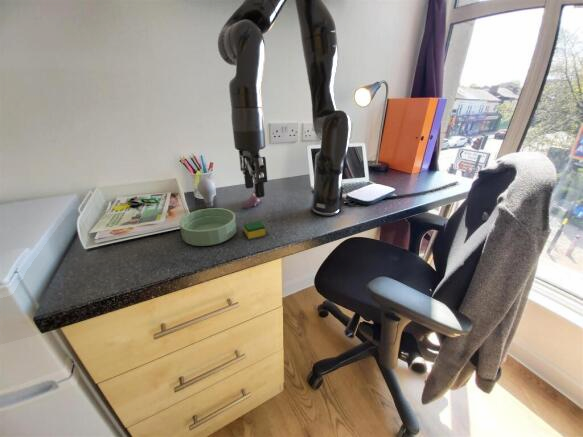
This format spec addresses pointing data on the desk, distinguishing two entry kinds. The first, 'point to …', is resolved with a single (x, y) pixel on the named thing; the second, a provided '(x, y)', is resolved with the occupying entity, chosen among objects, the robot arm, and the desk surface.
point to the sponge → (254, 229)
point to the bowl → (208, 226)
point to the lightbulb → (207, 191)
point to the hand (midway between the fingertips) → (254, 192)
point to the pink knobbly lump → (251, 201)
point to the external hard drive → (370, 194)
